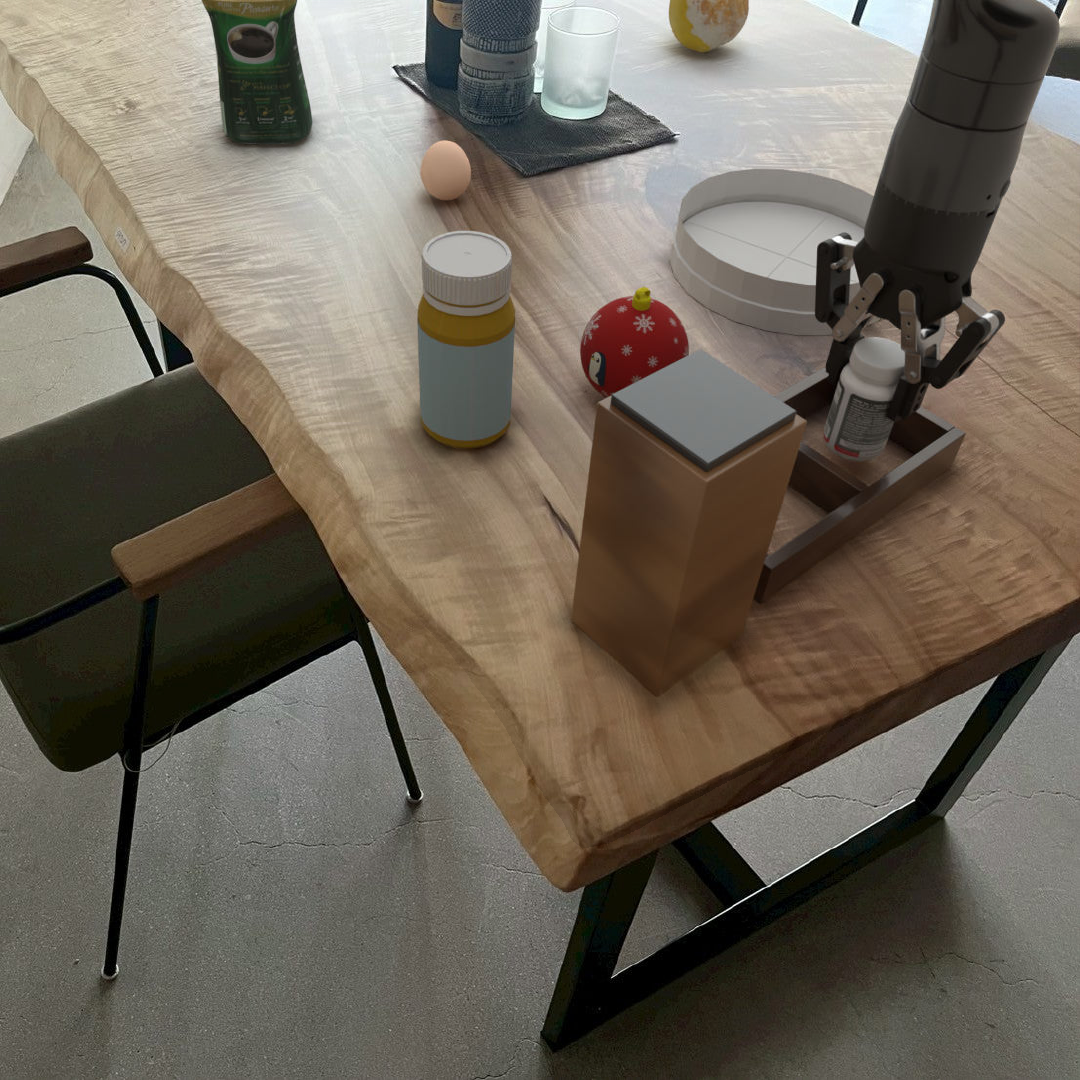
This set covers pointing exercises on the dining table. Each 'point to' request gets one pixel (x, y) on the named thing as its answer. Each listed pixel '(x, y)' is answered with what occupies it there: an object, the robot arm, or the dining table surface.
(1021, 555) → the dining table surface
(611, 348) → the christmas ornament
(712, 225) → the dish
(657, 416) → the coaster
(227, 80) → the coffee jar
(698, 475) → the riser
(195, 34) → the dining table surface
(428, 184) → the egg
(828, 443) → the pill bottle
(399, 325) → the dining table surface
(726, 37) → the fruit
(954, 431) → the rack
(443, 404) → the bottle
